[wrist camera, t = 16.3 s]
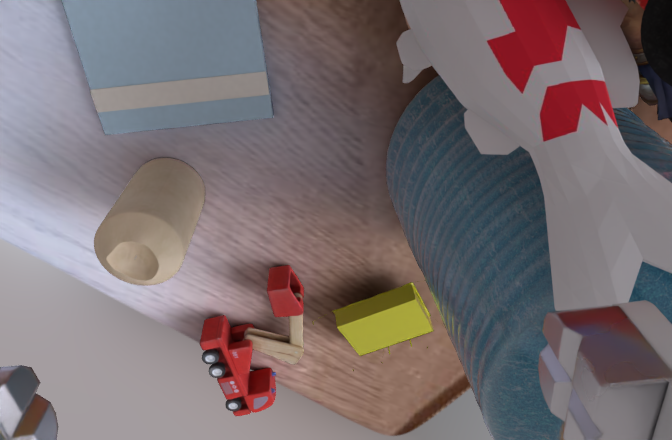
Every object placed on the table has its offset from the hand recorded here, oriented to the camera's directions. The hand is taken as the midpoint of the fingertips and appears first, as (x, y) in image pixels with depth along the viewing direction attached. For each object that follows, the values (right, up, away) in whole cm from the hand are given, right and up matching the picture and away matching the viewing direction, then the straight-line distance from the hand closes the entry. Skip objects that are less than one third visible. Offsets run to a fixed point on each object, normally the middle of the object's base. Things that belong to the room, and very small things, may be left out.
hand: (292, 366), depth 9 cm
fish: (+4, +9, +14) cm, 17 cm away
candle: (-12, +5, +33) cm, 35 cm away
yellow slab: (+5, -7, +37) cm, 38 cm away
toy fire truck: (-11, -10, +39) cm, 42 cm away
